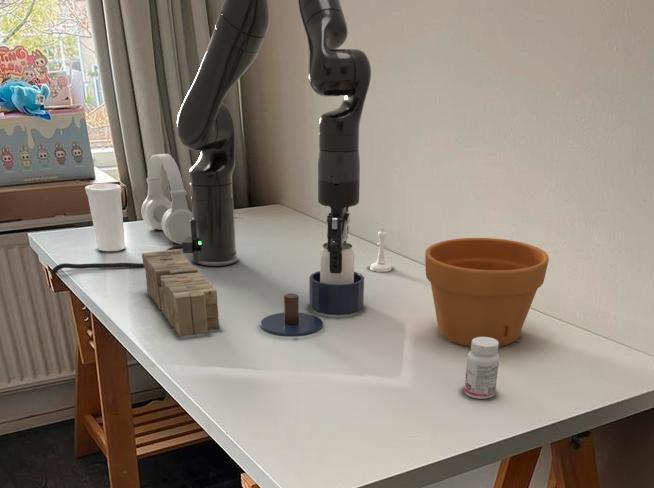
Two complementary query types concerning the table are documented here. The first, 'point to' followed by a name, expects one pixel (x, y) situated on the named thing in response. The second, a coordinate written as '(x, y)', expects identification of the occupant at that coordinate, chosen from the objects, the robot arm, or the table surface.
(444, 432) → the table surface
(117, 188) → the cup
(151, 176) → the headphones
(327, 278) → the can
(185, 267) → the block tower
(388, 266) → the chess piece
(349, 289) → the pot
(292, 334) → the lid
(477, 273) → the flower pot
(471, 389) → the pill bottle
